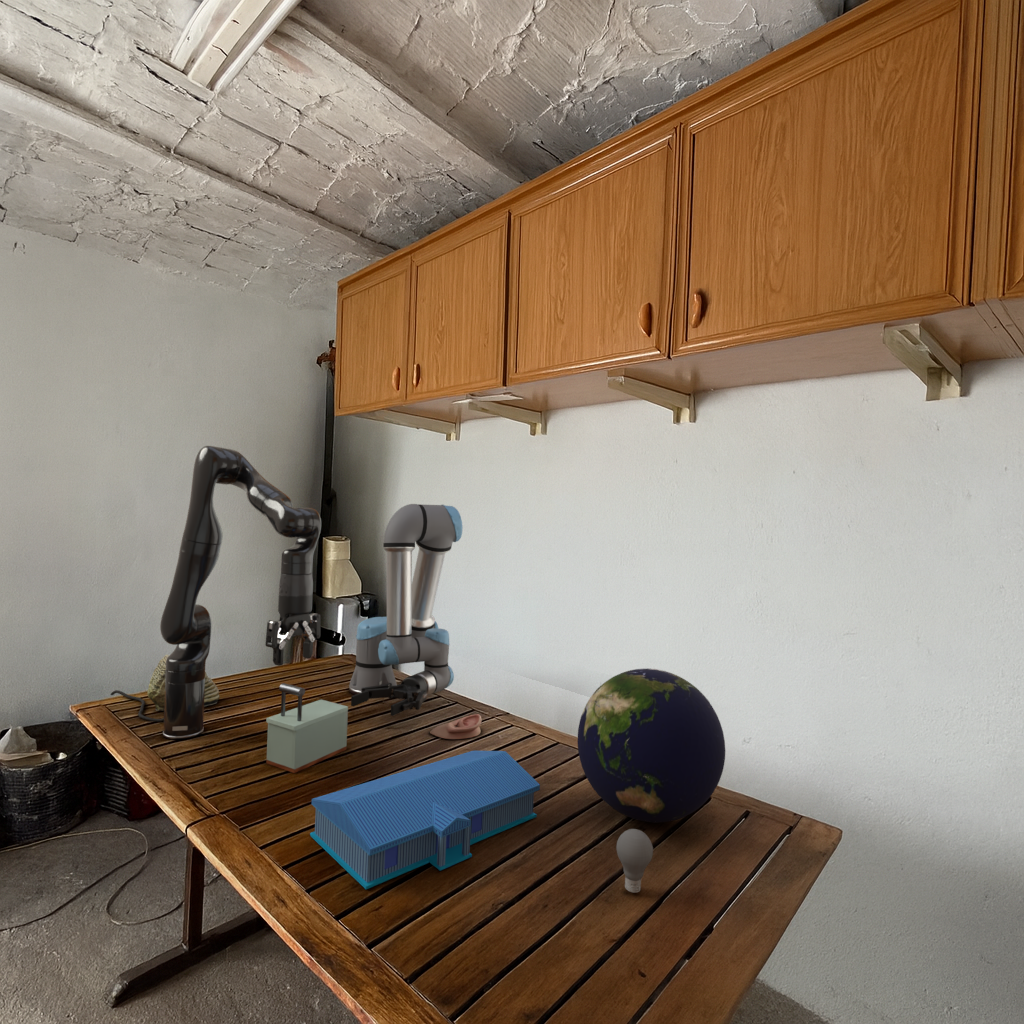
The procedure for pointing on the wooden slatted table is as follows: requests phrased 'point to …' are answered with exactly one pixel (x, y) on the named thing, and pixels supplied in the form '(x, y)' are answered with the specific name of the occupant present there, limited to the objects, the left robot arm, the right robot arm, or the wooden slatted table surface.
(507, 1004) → the wooden slatted table surface
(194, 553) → the left robot arm
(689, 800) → the globe
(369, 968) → the wooden slatted table surface
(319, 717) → the lid
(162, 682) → the fossil
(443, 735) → the anatomical model
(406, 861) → the model building
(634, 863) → the light bulb
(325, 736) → the chest
